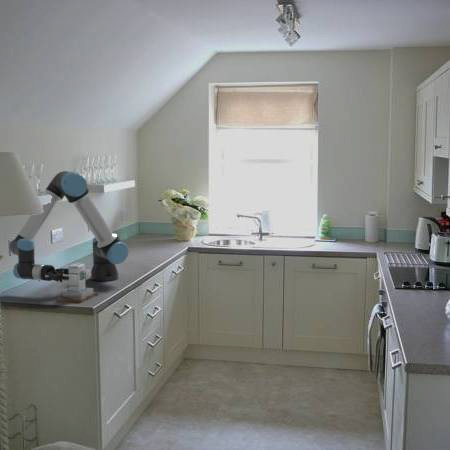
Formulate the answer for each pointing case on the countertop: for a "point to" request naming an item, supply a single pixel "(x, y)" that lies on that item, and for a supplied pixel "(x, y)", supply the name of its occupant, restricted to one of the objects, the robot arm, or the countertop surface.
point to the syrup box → (77, 278)
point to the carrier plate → (76, 300)
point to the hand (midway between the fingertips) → (83, 275)
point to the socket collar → (77, 293)
